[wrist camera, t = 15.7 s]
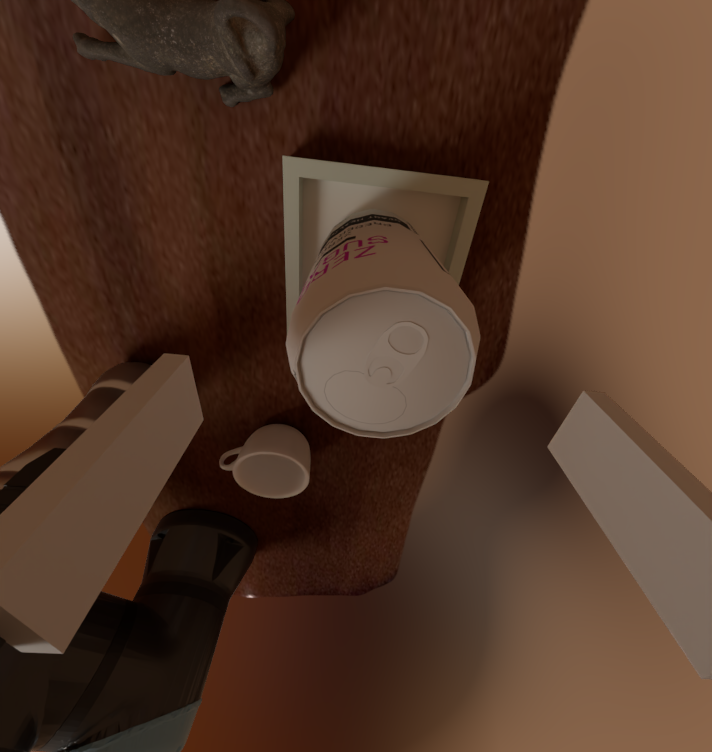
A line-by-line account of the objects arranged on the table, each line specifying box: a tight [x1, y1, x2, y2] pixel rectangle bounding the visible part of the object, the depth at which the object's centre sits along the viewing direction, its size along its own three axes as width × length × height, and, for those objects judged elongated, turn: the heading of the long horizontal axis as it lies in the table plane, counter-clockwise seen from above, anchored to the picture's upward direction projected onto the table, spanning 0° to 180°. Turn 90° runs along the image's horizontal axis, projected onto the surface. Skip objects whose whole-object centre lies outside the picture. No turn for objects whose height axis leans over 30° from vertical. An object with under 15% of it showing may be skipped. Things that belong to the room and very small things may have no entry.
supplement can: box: [286, 209, 480, 439], centre depth 18 cm, size 8×8×15 cm
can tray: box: [283, 156, 489, 335], centre depth 24 cm, size 13×13×2 cm
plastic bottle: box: [0, 362, 152, 489], centre depth 24 cm, size 6×7×20 cm
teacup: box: [219, 424, 311, 498], centre depth 35 cm, size 10×8×5 cm
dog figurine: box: [71, 0, 295, 107], centre depth 15 cm, size 12×6×7 cm, turn 77°
